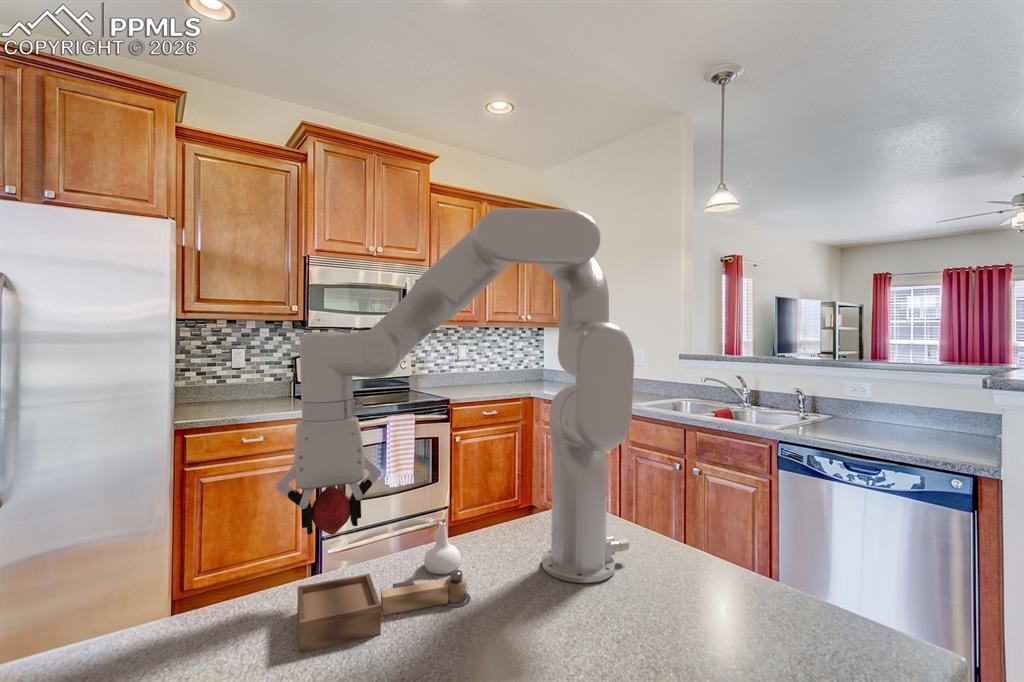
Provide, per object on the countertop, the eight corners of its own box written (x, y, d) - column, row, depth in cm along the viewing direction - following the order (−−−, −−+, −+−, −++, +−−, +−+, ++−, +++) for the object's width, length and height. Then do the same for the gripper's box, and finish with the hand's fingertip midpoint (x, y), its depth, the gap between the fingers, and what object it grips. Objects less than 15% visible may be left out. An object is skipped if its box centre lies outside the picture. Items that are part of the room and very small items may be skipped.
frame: (463, 588, 80) (463, 562, 79) (474, 603, 75) (474, 576, 75) (392, 602, 75) (392, 575, 75) (399, 620, 70) (399, 591, 70)
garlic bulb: (467, 568, 88) (470, 521, 88) (446, 579, 82) (449, 529, 83) (438, 560, 91) (441, 515, 91) (416, 570, 85) (419, 522, 86)
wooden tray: (369, 598, 76) (369, 573, 76) (380, 634, 67) (381, 605, 67) (297, 612, 72) (297, 586, 72) (299, 652, 63) (299, 622, 63)
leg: (463, 590, 78) (463, 574, 78) (469, 600, 75) (469, 584, 75) (380, 605, 73) (380, 588, 73) (383, 617, 70) (383, 599, 70)
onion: (339, 543, 74) (337, 489, 74) (304, 541, 75) (302, 488, 75) (358, 528, 80) (356, 478, 80) (325, 526, 81) (324, 477, 81)
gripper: (380, 404, 85) (384, 510, 85) (266, 413, 77) (271, 529, 78) (389, 409, 78) (392, 525, 78) (265, 420, 71) (270, 548, 71)
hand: (332, 526), depth 78 cm, fingers closed on onion, 5 cm apart
